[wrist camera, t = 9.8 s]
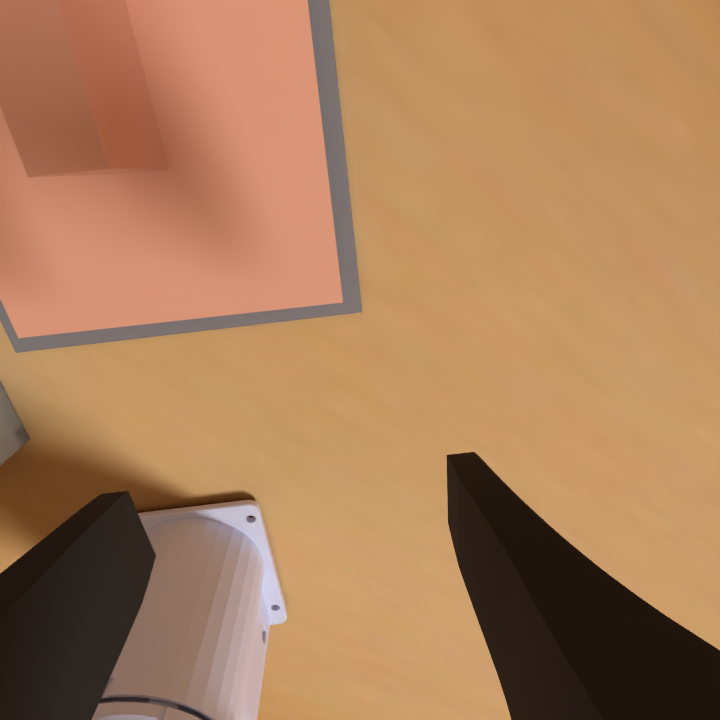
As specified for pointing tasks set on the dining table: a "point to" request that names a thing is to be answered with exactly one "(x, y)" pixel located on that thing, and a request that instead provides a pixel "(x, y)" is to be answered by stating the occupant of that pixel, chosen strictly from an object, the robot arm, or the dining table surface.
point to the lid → (160, 163)
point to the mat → (341, 217)
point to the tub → (9, 428)
